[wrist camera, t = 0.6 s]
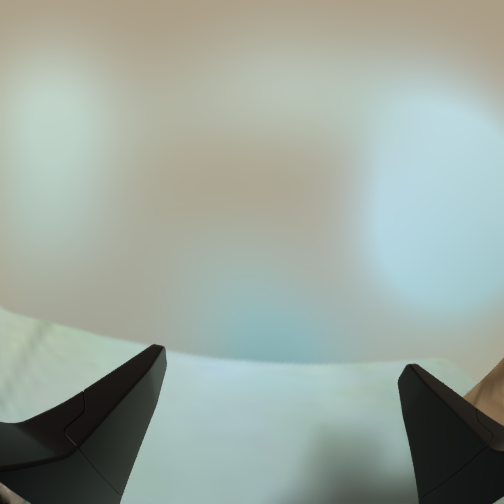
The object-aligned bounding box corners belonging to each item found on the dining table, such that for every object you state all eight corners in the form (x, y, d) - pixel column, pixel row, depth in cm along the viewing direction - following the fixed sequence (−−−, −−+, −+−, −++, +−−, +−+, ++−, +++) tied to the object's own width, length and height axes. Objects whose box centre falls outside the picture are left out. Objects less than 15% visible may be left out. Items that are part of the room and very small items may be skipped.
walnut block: (460, 454, 15) (551, 388, 8) (435, 439, 18) (524, 367, 10) (471, 424, 18) (549, 354, 11) (447, 409, 20) (524, 333, 13)
